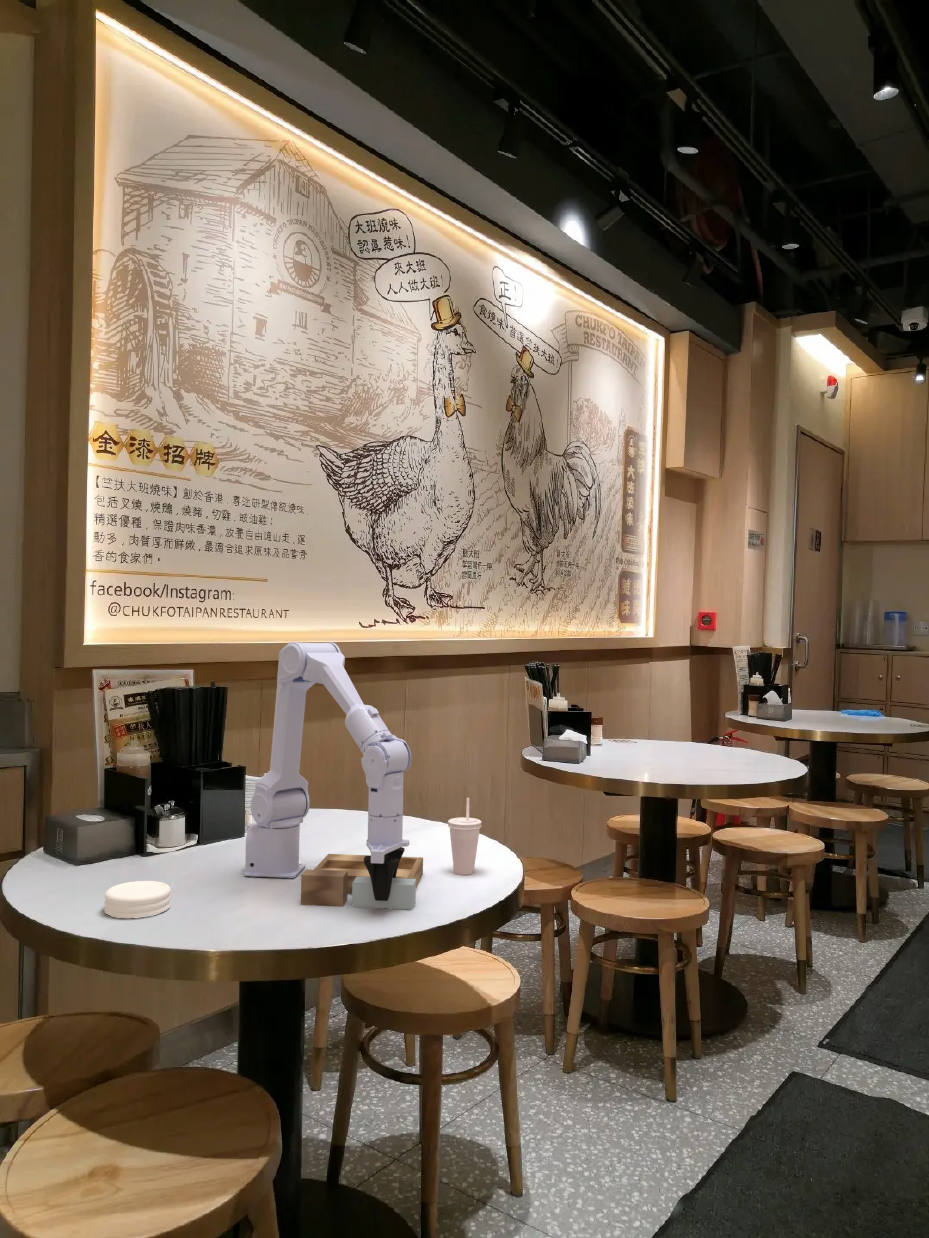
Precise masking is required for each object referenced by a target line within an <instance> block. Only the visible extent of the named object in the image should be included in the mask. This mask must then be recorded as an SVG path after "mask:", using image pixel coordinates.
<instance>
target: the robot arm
mask: <svg viewBox="0 0 929 1238" xmlns="http://www.w3.org/2000/svg"><path fill="white" fill-rule="evenodd" d="M345 659H346V657H345V655H344V654H343V653H342V651H341V649H340V647H339V645H337V644H336V643H334V642H332V641H330V642H329V641H327V642H297V641H290V642H289V643H287V644H286V645H285V646H284V647H283V648H281V650H279V653H278V664H277V667H278V668H277V677H276V682H277V683H276V692H275V693H276V697H275V707H274V717H273V730H272V742H271V753H270V763H269V764H270V765H269V771H267V772H266V774H264V775H263V776H262V777H261V778H260V779H258V780H257V782H256V783H255V789H254V794H253V795H252V798H251V800H250V801H251V802H250V814H251V816H252V818H253V820H254V822H255V823H251V824H250V825H249V826H248V828H247V832H246V837H245V860H244V861H245V864H244V865H245V866H244V873H243V876H244V877H261V878H262V877H263V878H282V879H286V878H287V879H294V878H296V877H297V876H298V875H299V874H300V873H301V871H302V872H303V870H304V868H306V864H304V863H300V836H301V835H300V833H301V832H300V830H301V828H300V826H301V824H303V823H304V818H305V817H306V816H307V815H308V813H309V811H310V808H311V807H310V806H311V801H310V795H309V782H308V780H307V779H306V778H305V777H303V776H302V775H301V774H300V768H301V755H302V753H301V752H302V743H303V734H304V732H303V731H304V723H305V722H304V720H305V710H306V699H307V698H306V697H307V691H308V690H309V689H310V688H311V687H312V686H314V685H315V684H321V685H324V687H325V688H326V689H327V691H328V693H329V694H330V695H331V697H332V698H333V699H334V700H335V702H336V703H337V704H338V706H339V707H340V708H341V710H342V711H343V712H344V714H345V720H344V725H345V727H346V729H347V731H348V733H349V734H350V735H351V737H352V739H353V741H354V742H355V744H356V745H357V746H358V748H359V750H360V752H361V753H362V756H363V757H361V758H360V762H361V763H360V764H361V767H362V770H363V771H364V773H365V774H364V775H365V783H366V785H367V786H366V787H368V801H367V802H368V805H367V806H368V809H367V812H368V813H367V839H366V843H365V845H366V847H367V848H368V850H369V852H370V855H371V856H368V854H367V855H366V854H365V855H366V856H365V857H364V864H365V866H366V868H367V870H368V872H369V875H370V878H371V882H372V887H373V893H374V897H375V900H376V901H388V899H389V895H390V890H391V884H392V878H396V874H397V869H398V865H399V862H400V860H401V857H403V855H404V853H405V851H406V850H405V847H409V846H410V839H403V827H404V826H403V825H404V823H403V817H404V774H405V773H406V772H407V771H408V770H409V769H410V767H411V763H412V752H411V750H410V747H409V745H408V743H407V742H406V741H405V740H404V739H402V738H398V737H397V736H396V735H395V734H392V733H391V731H390V730H389V728H388V727H387V725H386V724H385V722H384V720H383V719H382V717H381V716H380V712H379V710H378V709H377V708H376V707H374V706H372V705H369V704H364V702H363V700H362V698H361V696H360V695H359V693H358V691H357V689H356V687H355V685H354V684H353V682H352V680H351V678H350V675H348V672H347V671H346V669H345V661H346V660H345Z"/></svg>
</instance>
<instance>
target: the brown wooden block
mask: <svg viewBox="0 0 929 1238" xmlns="http://www.w3.org/2000/svg"><path fill="white" fill-rule="evenodd" d="M347 880H348V871H334V870H314V869H308V868H307V869H305V871H303V872H302V873H301V876H300V881H301V882H300V906H315V907H316V906H319V907H320V906H321V907H337V908H338V907H342V908H343V907H344V906H345V904H346V903H347V901H348V893H347Z"/></svg>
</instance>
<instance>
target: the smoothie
mask: <svg viewBox="0 0 929 1238" xmlns="http://www.w3.org/2000/svg"><path fill="white" fill-rule="evenodd" d="M470 801H471V800H470V797H466V805H465V806H466V809H465V811H466V813H465V814H466V815H465V817H462V816H461V817H453V818H450V819H448V821H447V827H448V828H449V835H450V846H451V856H452V857H451V858H452V864H453V866H452V867H453V873H454V874H455V875H458V876H469V875H470V874H471V875H473V874H474V872H475V865H476V858H477V852H478V851H477V850H478V844H479V838H480V837H479V836H480V828H482V820H480V819H478V818H474V817H470ZM472 873H473V874H472Z"/></svg>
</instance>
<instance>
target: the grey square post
mask: <svg viewBox="0 0 929 1238" xmlns="http://www.w3.org/2000/svg"><path fill="white" fill-rule="evenodd" d="M416 895H417V887H416V879H406V878H392V884H391V890H390V895H389V899H388V901H376V900H375V897H374V893H373V887H372V882H371V878H370V877H358V876H357V877H356V878H355V880H354V881H353V882H352V893H351V908H361V909H362V908H363V909H364V908H367V909H383V908H394V909H393V910H406V909H413V910H414V907H415V905H416V902H417V901H416V900H417V896H416ZM396 908H398V909H396Z"/></svg>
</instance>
